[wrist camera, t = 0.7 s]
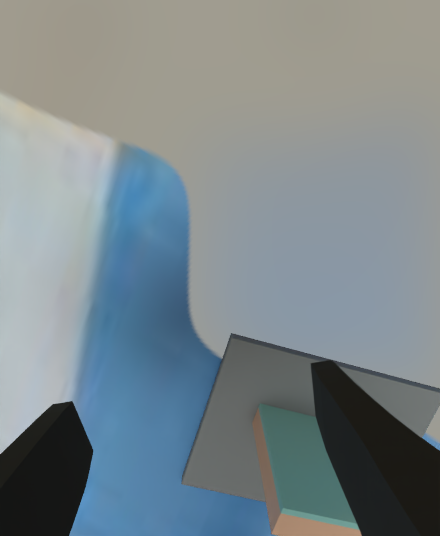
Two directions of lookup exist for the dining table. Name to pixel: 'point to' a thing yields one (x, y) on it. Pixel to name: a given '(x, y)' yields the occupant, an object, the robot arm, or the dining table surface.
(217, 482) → the mat
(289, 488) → the tile
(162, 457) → the dining table surface
